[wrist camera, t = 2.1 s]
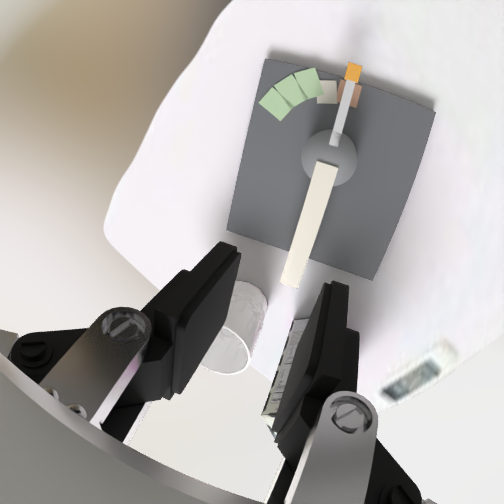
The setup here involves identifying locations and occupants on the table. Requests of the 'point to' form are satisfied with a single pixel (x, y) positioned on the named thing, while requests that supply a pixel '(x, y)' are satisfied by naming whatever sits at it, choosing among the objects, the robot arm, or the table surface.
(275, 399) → the candy bar box
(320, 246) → the tuner board
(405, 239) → the table surface
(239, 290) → the white cup
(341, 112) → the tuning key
